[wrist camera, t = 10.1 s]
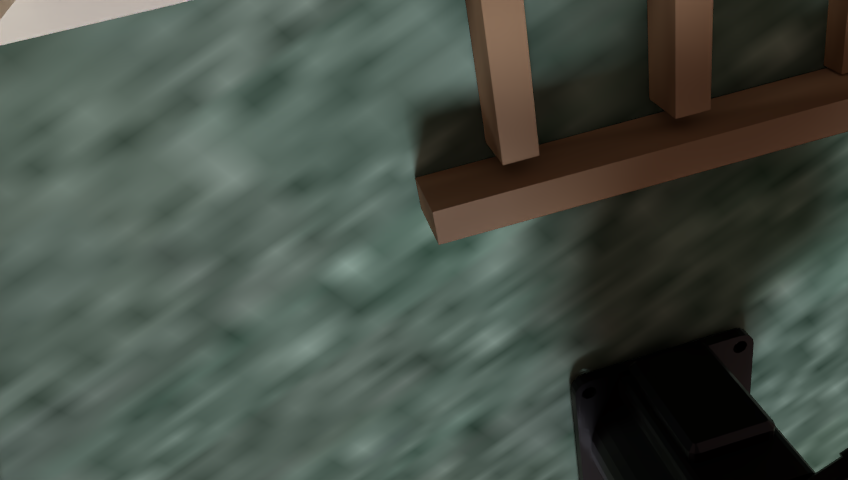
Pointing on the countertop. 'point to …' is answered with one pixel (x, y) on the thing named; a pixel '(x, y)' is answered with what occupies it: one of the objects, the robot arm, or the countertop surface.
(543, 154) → the rack
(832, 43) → the offcut stack
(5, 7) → the maple panel
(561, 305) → the countertop surface
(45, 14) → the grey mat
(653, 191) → the countertop surface
